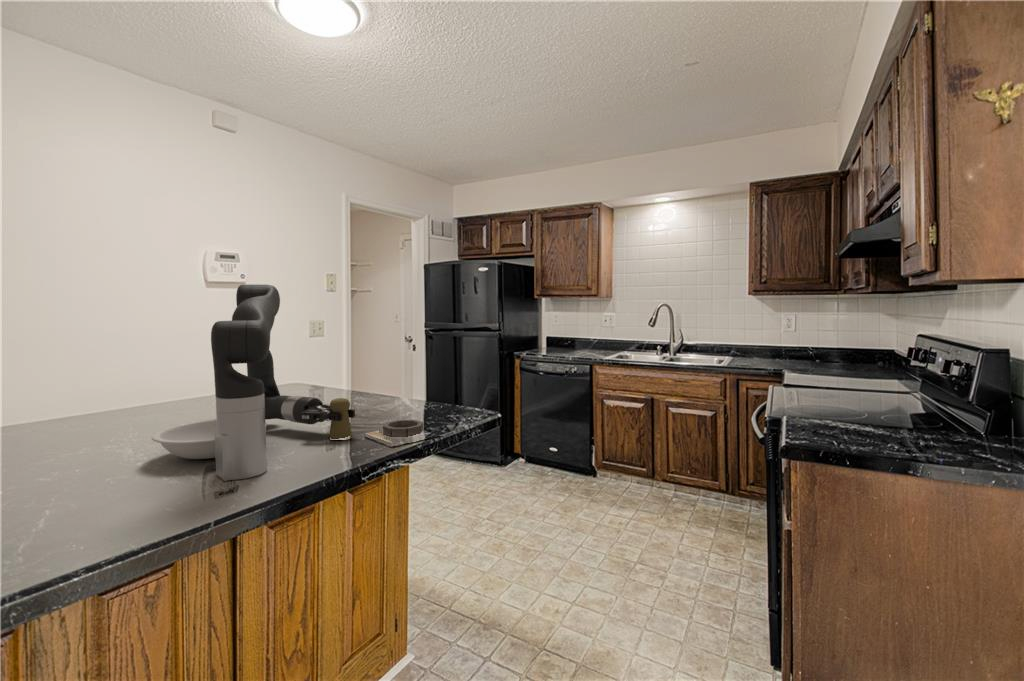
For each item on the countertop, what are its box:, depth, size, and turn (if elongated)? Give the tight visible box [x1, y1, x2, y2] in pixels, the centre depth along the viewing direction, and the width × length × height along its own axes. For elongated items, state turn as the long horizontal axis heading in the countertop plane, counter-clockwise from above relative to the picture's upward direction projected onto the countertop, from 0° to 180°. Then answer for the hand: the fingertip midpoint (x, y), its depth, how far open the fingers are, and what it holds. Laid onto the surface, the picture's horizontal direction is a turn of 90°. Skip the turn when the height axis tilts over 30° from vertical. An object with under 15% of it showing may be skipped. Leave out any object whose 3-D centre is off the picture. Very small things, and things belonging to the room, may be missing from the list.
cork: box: [328, 397, 353, 439], centre depth 135 cm, size 6×6×11 cm
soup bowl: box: [151, 418, 268, 460], centre depth 121 cm, size 24×24×7 cm
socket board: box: [364, 419, 424, 443], centre depth 137 cm, size 16×14×4 cm
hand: (347, 415), depth 134 cm, fingers closed on cork, 4 cm apart
